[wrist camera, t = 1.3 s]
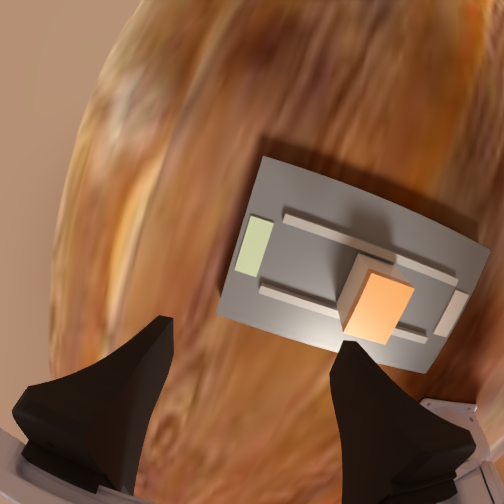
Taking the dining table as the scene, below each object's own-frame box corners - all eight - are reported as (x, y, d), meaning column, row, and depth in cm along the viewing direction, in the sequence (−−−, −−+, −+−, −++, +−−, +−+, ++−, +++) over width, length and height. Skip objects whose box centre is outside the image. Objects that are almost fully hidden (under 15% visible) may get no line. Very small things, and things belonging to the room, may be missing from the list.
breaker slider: (395, 266, 19) (414, 288, 15) (372, 315, 20) (385, 344, 16) (358, 252, 19) (371, 273, 15) (336, 303, 20) (343, 332, 17)
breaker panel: (478, 243, 19) (494, 252, 17) (418, 361, 23) (427, 377, 21) (266, 156, 20) (262, 155, 18) (222, 302, 24) (214, 317, 22)
